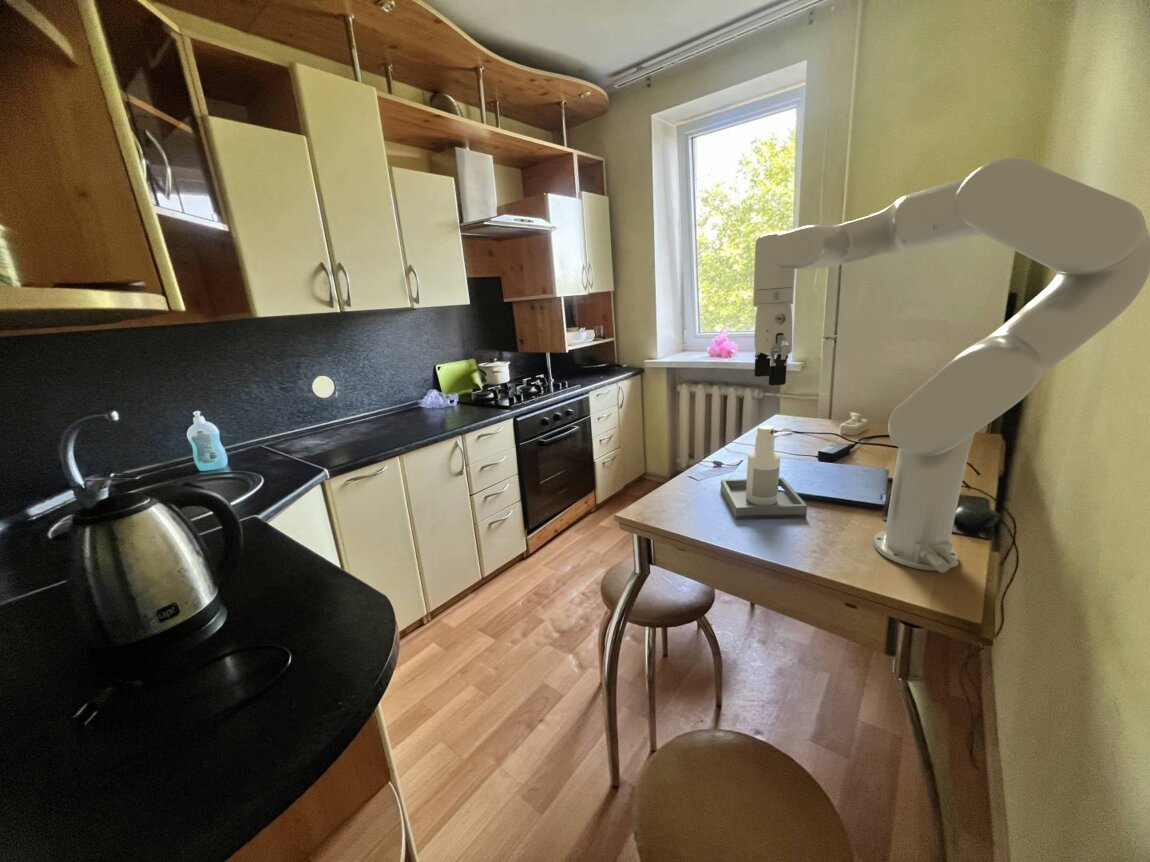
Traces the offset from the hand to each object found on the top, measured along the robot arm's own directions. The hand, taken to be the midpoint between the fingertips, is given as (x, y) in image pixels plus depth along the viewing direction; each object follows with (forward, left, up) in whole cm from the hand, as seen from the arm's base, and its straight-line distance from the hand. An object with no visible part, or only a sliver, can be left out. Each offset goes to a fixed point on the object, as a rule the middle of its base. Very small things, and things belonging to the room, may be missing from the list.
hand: (769, 380), depth 97 cm
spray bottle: (0, 0, -29) cm, 29 cm away
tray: (0, 0, -30) cm, 30 cm away
